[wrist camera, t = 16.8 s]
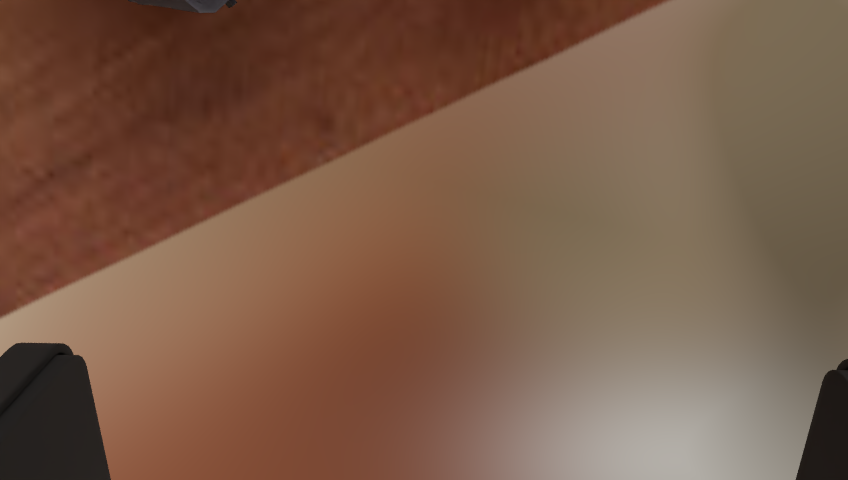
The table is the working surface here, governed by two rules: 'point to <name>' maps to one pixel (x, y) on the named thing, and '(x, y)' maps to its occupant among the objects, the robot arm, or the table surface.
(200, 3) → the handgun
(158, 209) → the table surface
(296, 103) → the table surface
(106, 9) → the table surface
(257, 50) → the table surface
